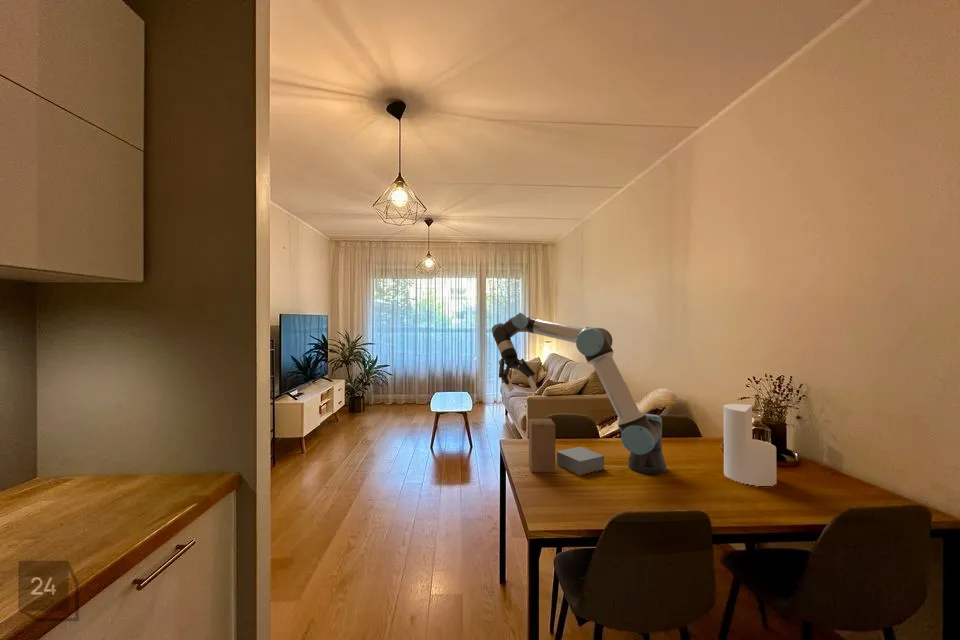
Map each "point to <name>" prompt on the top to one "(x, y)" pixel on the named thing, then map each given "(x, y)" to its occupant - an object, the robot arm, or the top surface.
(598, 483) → the top surface
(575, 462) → the slate base block
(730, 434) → the white stepped column
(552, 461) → the wooden block
